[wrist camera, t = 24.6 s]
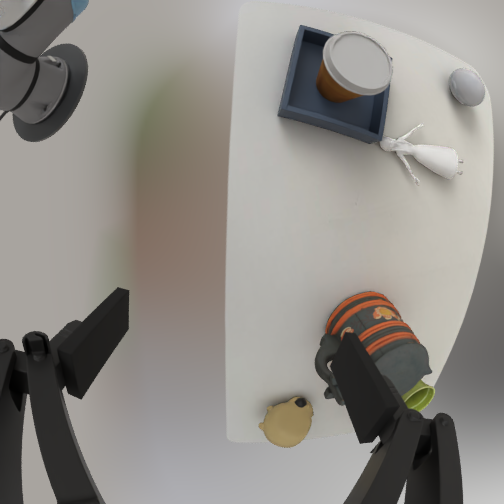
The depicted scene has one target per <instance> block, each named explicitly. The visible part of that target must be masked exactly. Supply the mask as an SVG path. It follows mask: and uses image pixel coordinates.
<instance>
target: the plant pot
mask: <svg viewBox="0 0 504 504" xmlns="http://www.w3.org/2000/svg"><path fill="white" fill-rule="evenodd" d="M434 394H435V389H434V388H433V387H432V386H429V385H427V384H425V383H424V382H423V381H422V380H420V381H419V382H418V383H417V384H416V385H415V386H414V387H413V388H412V389H411V390H410V391H408V392H407V393H406V394H404V395H403V396H401V397H402V399H403V400H404V402H405V403H406V405H407V407H408V408H411V409H415V410H417V411H418V412H420V411H421V410H422V409H424V408H425V407H426V406H427V405H428V404H429V402H430V401H431V400H432V398H433V397H434Z"/></svg>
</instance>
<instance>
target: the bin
mask: <svg viewBox="0 0 504 504" xmlns="http://www.w3.org/2000/svg"><path fill="white" fill-rule="evenodd" d="M333 35H334V34H331V33H328V32H324V31H321V30H318V29H314V28H311V27H307V26H303V25H300V27H299V30H298V32H297V35H296V38H295V42H294V47H293V51H292V55H291V60H290V64H289V68H288V72H287V77H286V81H285V85H284V90H283V94H282V98H281V103H280V107H279V111H278V116H280V117H284V118H288V119H292V120H296V121H300V122H304V123H307V124H311V125H314V126H318V127H321V128H324V129H328V130H331V131H334V132H337V133H340V134H343V135H346V136H349V137H352V138H355V139H358V140H360V141H363V142H366V143H369V144H371V143H375V142H379V141H382V137H383V131H384V125H385V118H386V112H387V104H388V97H389V88H390V84H389V86H388V87H387V88H386V89H385V90H384V91H382V92H381V93H378V94H376V95H363V96H360V97H357V98H354V99H351V100H348V101H345V102H342V103H335V102H331V101H329V100H327V99H325V98H324V97H323V96H322V95H321V94H320V93H319V91H318V89H317V86H316V78H317V75H318V72H319V69H320V66H321V63H322V60H323V49H324V46H325V43H326V42H327V41H328V39H329V38H331V37H332V36H333ZM390 58H391V57H390ZM391 61H392V58H391Z"/></svg>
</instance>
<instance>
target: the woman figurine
mask: <svg viewBox="0 0 504 504" xmlns="http://www.w3.org/2000/svg"><path fill="white" fill-rule="evenodd" d="M422 124H423V123H421V124H420V125H418V126H417V127H415V128H414V129H413V130H411V131H409V132H408V133H407V134H405V135H404V136H402V137H399V138H398V140H395V139H392V138H390V137H388V136H383V137H382V141H379V142H380V146H381V148H383V149H384V150H385V151H396V153H397V156H399V157H400V158H401V160H402V161H403V162H404V164H405V166H406V168H407V169H408V171H409V172H410V174H411V176H412V177H413V179H414V181H415V183H416V184H417V185H418V186H419V184H418V182H417V181H419V180H418V179H417V178H415V176H414V175H413V173H412V171H411V168H410V166H409V164H408V162H407V161H406V159H405V158H404V156H403V155H413V156H414V157H415V159H416V160H417V161H418V162H419V163H421V164H423V165H424V166H426V167H427V168H429V169H430V170H432V171H433V172H435V173H437V174H439V175H441V176H443V177H444V178H446V179H448V180H449V179H451V178H452V177H454V175H455V173H456V174H460V175H461V174H462V171H457V166H458V162H460V163H463V160H460V159H458V156H457V153H456V151H455V150H454V149H453V148H451V147H444V146H435V145H425V144H419V145H415V146H413V144H412V143H410V142H407V141H405V139H406V138H407V137H409V136H410V135H411V134H413V133H414V131H415V130H417V129H418V128H421V127H423V126H421V125H422ZM419 182H420V181H419Z"/></svg>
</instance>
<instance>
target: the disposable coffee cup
mask: <svg viewBox="0 0 504 504" xmlns="http://www.w3.org/2000/svg"><path fill="white" fill-rule="evenodd" d="M392 74H393V65H392V61H391V58H390V56H389V54H388V53H387V51H386V50H385V48H384V47H383V46H382V45H381V44H380V43H379V42H378V41H377V40H375V39H374V38H372V37H370V36H368V35H366V34H364V33H360V32H355V31H346V32H343V33H338V34H336V35H333V36H332V37H331V38H329V39H328V41H327V42H326V43H325V46H324V49H323V60H322V63H321V66H320V69H319V72H318V75H317V78H316V86H317V89H318V91H319V93H320V94H321V95H322V96H323V97H324V98H325V99H327V100H329V101H331V102H335V103H342V102H345V101H348V100H351V99H354V98H357V97H360V96H363V95H376V94H378V93H381V92H382V91H384V90H385V89H386V88H387V87H388V86H389V84H390V82H391V78H392Z"/></svg>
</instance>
